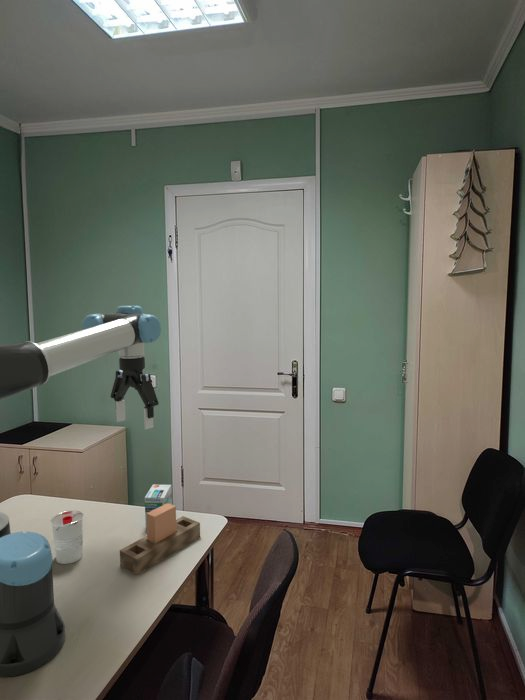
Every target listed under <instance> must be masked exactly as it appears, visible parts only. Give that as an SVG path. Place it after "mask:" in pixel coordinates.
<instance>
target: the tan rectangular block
mask: <svg viewBox="0 0 525 700" xmlns="http://www.w3.org/2000/svg"><path fill="white" fill-rule="evenodd" d="M176 508H177V506H176V505H174V504H172V505H171V504H169V503H167V504H165V505H163V506H161V507H159V508H157V509H154V510H152V511H150V512H148V513H146V514H147V529H146V536H147V540H149V542H150V543H153V544H157V543H159V542H160V541H161V540H163V539H165V538H166V537H168V536H170V535H173V534H175V532H176V520H177V513H176V512H177V509H176Z"/></svg>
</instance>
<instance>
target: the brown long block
mask: <svg viewBox="0 0 525 700" xmlns="http://www.w3.org/2000/svg"><path fill="white" fill-rule="evenodd" d="M199 536H200V537H201V522H199V521H196V520H195V519H194V520H193V519H191V518H189V517H187V516H181V517H179V518H176V532H175V534H173V535H170V536H168V537H166V538H165V539H163V540H161V541H160V542H159V543H157V544H153V543H150V542H149V540H147V535H146V536H144V537H141V538H139V539H138V540H136V541H134V542H132V543H131V544H129V545H127V546H125V547H123V548H121V549H119V563H120V567H122V568H124V569H125V570H128V571H130V572H131V573H133V574H135V575H136V576H138V575H140V574H142V573H144V571H146V570H149V569H150V568H152V567H153V566H155V565H156V564H158V563H159V562H161V561H163V560H164V559H166V558H167V557H169V556H171V555H172V554H174V553H176V552H177V551H179V550H181V549H182V548H184V547H185V546H187V545H189V544H190V542H191V541H192V542H194V541H195V540H197V539H199V538H200V537H199ZM198 537H199V538H198ZM196 538H197V539H196ZM193 540H194V541H193ZM192 542H191V543H192Z"/></svg>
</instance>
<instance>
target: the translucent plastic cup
mask: <svg viewBox="0 0 525 700" xmlns="http://www.w3.org/2000/svg"><path fill="white" fill-rule="evenodd" d="M83 517H84V513H83V512H82V511H80V510H67V511H62V512H60V513H58V514H56V515H53V517H51V519H50V522H51V525H52V534H53V535H52V536H53V538H52V539H53V545H54V551H55V560H56V562H57V563H58V564H60V565H69V564H72V563H75V562H77V561H79V560H81V558H82V557H83V554H84V553H83V551H84V549H83V548H84V546H83V540H84V535H83V534H84V530H83V527H84V526H83Z"/></svg>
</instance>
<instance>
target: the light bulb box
mask: <svg viewBox="0 0 525 700" xmlns="http://www.w3.org/2000/svg"><path fill="white" fill-rule="evenodd" d="M172 486H173V485H172V484H155V483H154V484H152V485H151V487H150V489H149V490H148V492H147V493H146V495H145V496H144V513H145V515H144V516H145V530H147V514H146V513H148V512H150V511H152V510H154V509H157V508H159V507H161V506H163V505H165V504H167V503H169V504H171V505H173V488H172Z"/></svg>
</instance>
